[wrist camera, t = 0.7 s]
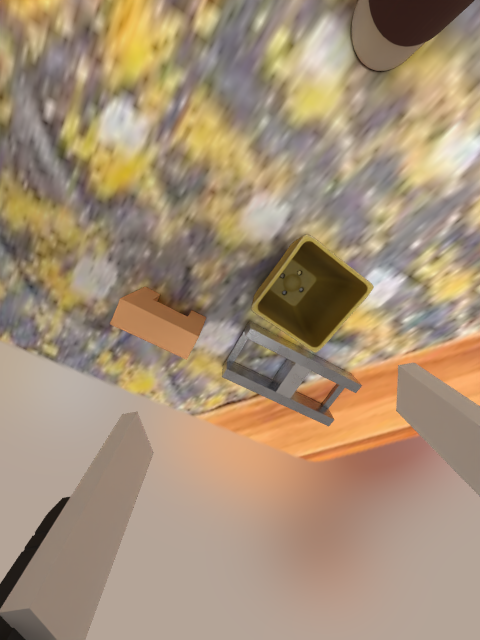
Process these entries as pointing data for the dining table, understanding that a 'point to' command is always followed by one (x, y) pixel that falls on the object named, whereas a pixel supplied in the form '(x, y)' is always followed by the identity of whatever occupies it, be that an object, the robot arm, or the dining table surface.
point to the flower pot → (310, 293)
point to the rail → (288, 374)
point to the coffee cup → (398, 28)
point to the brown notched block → (157, 322)
